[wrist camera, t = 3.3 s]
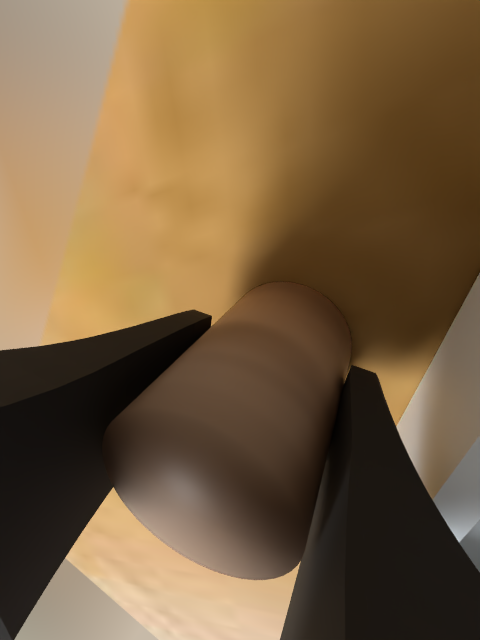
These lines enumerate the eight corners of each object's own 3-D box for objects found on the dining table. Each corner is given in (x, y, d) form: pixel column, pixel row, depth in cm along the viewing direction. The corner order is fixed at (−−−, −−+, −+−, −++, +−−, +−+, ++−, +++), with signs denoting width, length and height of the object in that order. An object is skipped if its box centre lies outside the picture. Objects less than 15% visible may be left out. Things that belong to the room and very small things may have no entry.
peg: (330, 409, 11) (277, 610, 6) (223, 367, 12) (107, 512, 8) (371, 305, 9) (339, 480, 4) (239, 265, 10) (95, 371, 6)
